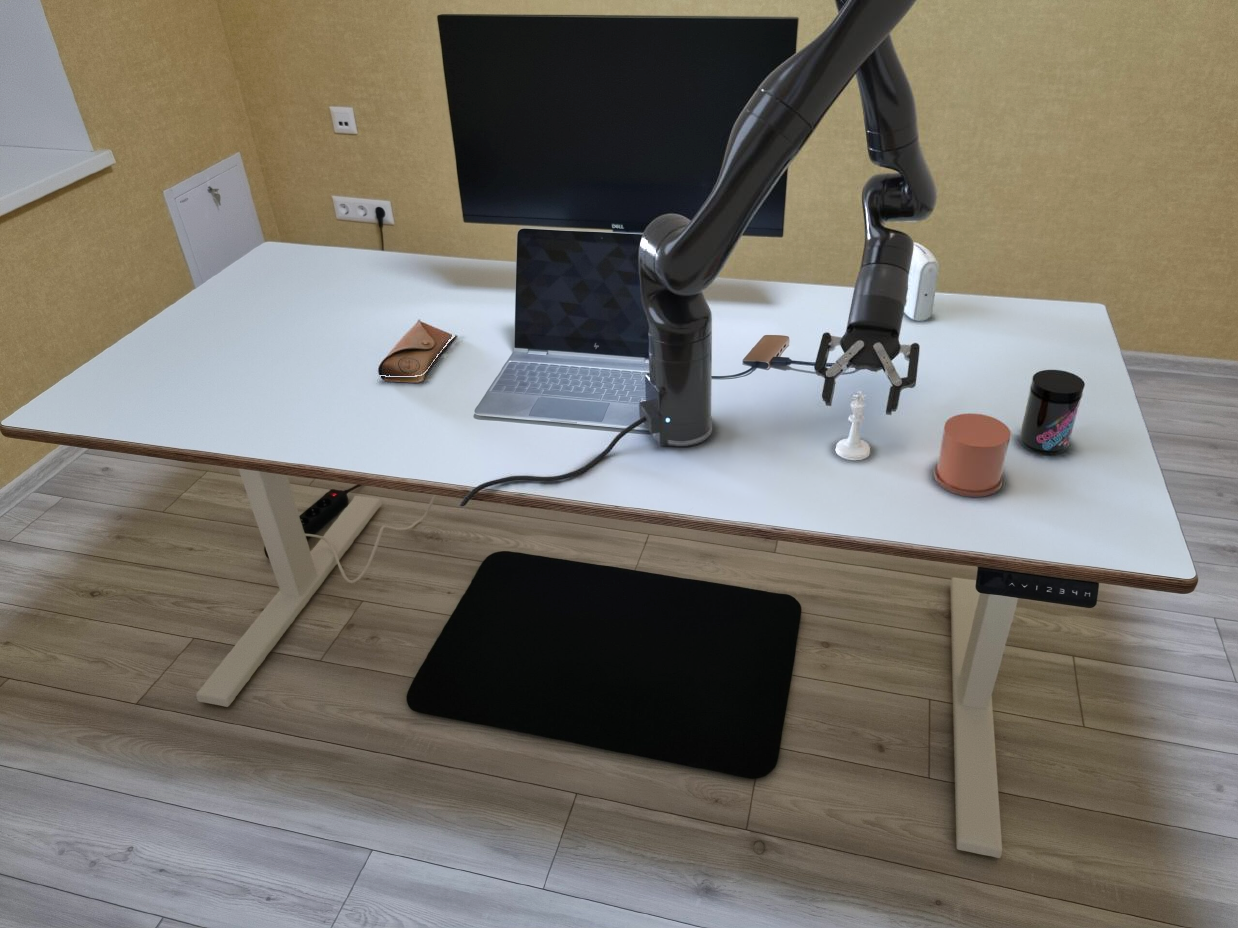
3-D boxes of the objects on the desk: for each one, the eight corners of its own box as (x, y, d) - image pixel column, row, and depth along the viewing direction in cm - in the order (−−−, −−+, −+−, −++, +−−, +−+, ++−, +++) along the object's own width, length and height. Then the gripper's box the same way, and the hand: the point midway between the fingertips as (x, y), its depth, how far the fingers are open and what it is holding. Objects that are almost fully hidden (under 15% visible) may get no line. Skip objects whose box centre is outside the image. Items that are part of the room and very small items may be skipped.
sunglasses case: (425, 381, 158) (400, 350, 156) (396, 397, 162) (371, 368, 159) (460, 334, 173) (437, 305, 170) (432, 350, 176) (410, 322, 173)
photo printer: (934, 319, 169) (944, 255, 162) (912, 323, 168) (921, 258, 161) (909, 297, 177) (917, 235, 170) (888, 300, 177) (895, 238, 170)
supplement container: (1021, 455, 133) (1036, 392, 127) (1014, 429, 138) (1028, 368, 132) (1072, 458, 131) (1089, 394, 125) (1063, 432, 137) (1079, 370, 131)
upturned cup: (959, 503, 124) (969, 454, 120) (920, 468, 131) (928, 420, 127) (1016, 488, 126) (1027, 439, 122) (974, 454, 133) (984, 406, 129)
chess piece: (870, 461, 133) (877, 401, 127) (835, 459, 134) (841, 399, 128) (869, 442, 137) (876, 384, 131) (835, 440, 138) (841, 382, 132)
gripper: (827, 287, 133) (805, 395, 131) (929, 298, 129) (909, 410, 126) (831, 306, 140) (810, 408, 138) (928, 316, 136) (909, 423, 134)
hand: (858, 409), depth 132 cm, fingers open, 8 cm apart
